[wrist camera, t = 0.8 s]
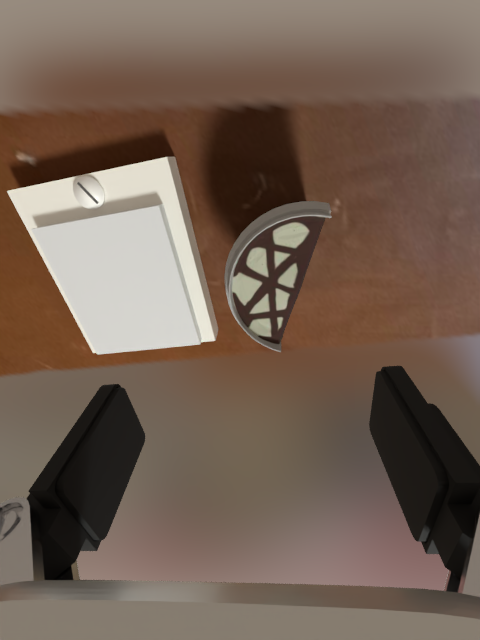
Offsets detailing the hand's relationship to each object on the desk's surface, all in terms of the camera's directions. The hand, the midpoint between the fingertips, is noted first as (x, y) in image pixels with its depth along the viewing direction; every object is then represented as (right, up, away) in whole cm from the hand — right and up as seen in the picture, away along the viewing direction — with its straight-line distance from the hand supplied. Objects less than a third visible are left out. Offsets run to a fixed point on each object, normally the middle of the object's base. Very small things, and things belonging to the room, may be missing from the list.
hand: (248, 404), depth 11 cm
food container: (+2, +11, +19) cm, 22 cm away
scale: (-12, +9, +21) cm, 26 cm away
